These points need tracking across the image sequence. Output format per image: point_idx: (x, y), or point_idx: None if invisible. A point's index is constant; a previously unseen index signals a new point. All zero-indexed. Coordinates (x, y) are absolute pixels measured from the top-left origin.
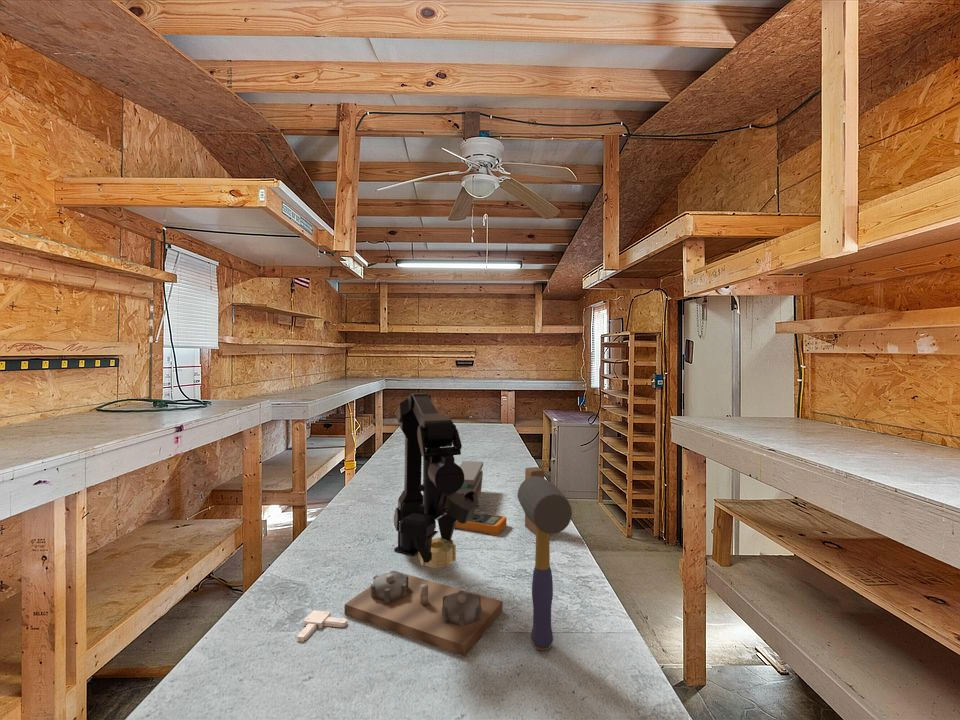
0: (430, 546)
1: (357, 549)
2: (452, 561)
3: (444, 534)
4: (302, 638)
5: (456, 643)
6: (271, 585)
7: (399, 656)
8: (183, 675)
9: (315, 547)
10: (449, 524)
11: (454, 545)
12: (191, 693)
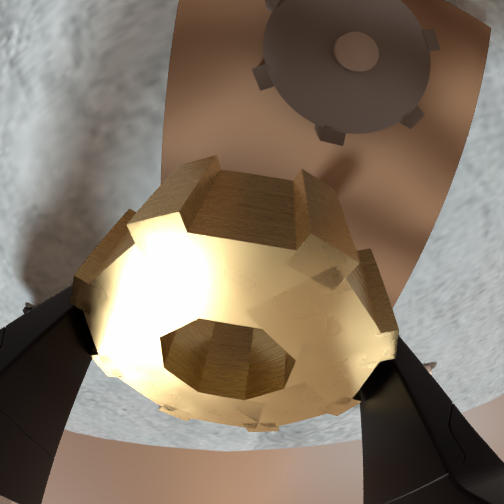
0: (434, 414)
1: (121, 401)
2: (237, 172)
3: (70, 364)
4: (431, 370)
5: (486, 53)
6: (282, 443)
7: (489, 196)
8: (469, 407)
9: (158, 436)
10: (4, 410)
11: (157, 231)
12: (497, 387)
